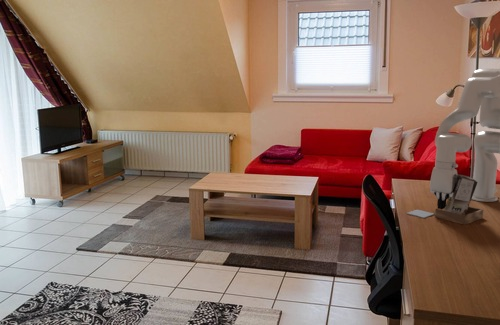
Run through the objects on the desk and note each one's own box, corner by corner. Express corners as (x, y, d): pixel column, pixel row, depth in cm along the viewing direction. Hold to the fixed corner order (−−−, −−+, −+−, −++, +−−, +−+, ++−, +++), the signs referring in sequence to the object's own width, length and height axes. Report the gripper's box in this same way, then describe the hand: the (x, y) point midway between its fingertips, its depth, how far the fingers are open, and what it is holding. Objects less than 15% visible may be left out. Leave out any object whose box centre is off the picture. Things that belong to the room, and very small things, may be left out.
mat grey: (417, 210, 208) (417, 209, 208) (434, 214, 202) (434, 213, 201) (406, 213, 203) (406, 212, 203) (423, 218, 197) (423, 217, 196)
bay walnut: (453, 211, 207) (453, 203, 206) (482, 218, 197) (483, 209, 197) (434, 217, 198) (435, 208, 197) (464, 224, 188) (465, 216, 188)
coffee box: (464, 219, 195) (478, 182, 191) (448, 215, 196) (461, 177, 192) (459, 213, 203) (472, 177, 200) (443, 209, 204) (456, 173, 201)
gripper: (467, 167, 196) (463, 211, 199) (433, 161, 207) (429, 203, 211) (457, 169, 191) (453, 214, 195) (423, 163, 203) (420, 206, 206)
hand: (441, 208), depth 203 cm, fingers closed
